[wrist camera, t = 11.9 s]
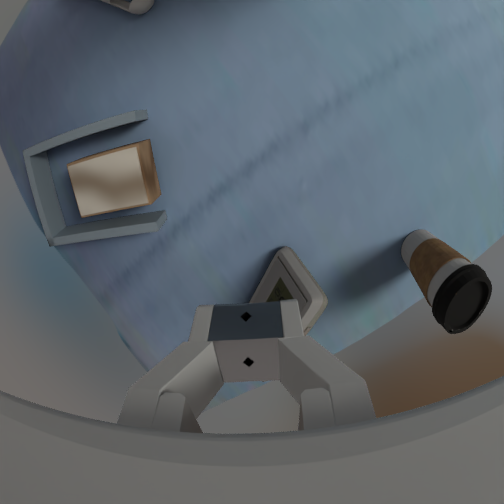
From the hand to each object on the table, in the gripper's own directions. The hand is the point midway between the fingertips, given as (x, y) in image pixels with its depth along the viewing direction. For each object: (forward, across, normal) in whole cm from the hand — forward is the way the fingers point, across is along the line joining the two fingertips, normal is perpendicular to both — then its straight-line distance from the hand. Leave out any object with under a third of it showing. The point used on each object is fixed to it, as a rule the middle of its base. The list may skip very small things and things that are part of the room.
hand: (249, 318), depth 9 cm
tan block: (+28, +17, 0) cm, 32 cm away
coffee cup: (+28, -23, +14) cm, 39 cm away
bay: (+28, +21, 0) cm, 35 cm away
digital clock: (+28, -1, +20) cm, 34 cm away
